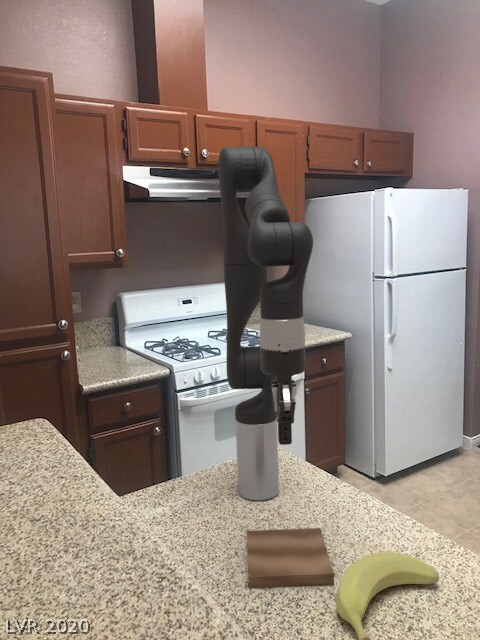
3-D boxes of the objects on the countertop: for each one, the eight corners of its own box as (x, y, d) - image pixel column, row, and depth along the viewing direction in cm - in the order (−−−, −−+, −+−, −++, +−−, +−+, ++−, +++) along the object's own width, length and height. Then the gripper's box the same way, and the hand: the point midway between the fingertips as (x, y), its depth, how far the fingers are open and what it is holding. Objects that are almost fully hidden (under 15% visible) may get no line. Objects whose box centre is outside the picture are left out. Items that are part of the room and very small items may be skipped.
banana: (355, 553, 92) (320, 640, 75) (361, 527, 91) (326, 610, 73) (435, 586, 87) (417, 688, 70) (443, 559, 85) (427, 657, 68)
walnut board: (247, 540, 100) (246, 530, 100) (320, 537, 100) (320, 528, 100) (248, 588, 86) (248, 577, 86) (334, 585, 86) (333, 573, 86)
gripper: (258, 337, 94) (261, 430, 97) (262, 353, 81) (265, 459, 84) (300, 336, 94) (301, 428, 97) (310, 351, 81) (312, 457, 84)
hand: (285, 442), depth 90 cm, fingers closed
